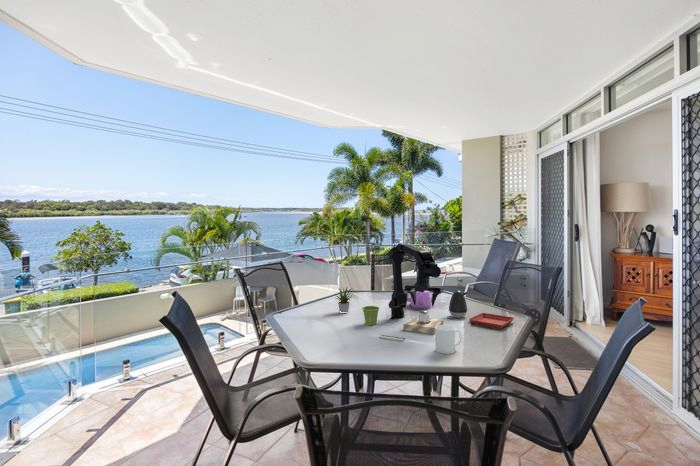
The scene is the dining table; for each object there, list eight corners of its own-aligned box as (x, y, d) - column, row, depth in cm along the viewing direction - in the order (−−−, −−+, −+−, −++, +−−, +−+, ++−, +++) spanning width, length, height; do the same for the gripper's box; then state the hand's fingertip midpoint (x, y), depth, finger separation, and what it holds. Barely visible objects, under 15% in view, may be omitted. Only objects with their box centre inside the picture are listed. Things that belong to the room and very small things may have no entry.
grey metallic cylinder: (417, 328, 191) (417, 311, 191) (420, 325, 195) (420, 309, 195) (427, 329, 188) (426, 312, 188) (430, 327, 193) (429, 310, 192)
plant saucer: (468, 324, 200) (468, 318, 200) (482, 317, 213) (482, 312, 213) (502, 331, 188) (502, 325, 188) (515, 323, 201) (515, 317, 201)
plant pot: (383, 323, 204) (382, 307, 204) (372, 327, 198) (371, 311, 197) (369, 320, 211) (369, 305, 211) (358, 324, 204) (358, 308, 204)
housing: (403, 331, 189) (403, 323, 189) (414, 323, 203) (414, 316, 203) (434, 336, 181) (434, 328, 181) (443, 327, 195) (443, 319, 195)
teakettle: (419, 301, 254) (419, 283, 254) (439, 306, 241) (439, 287, 241) (401, 305, 244) (401, 287, 243) (422, 310, 231) (421, 290, 230)
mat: (379, 337, 180) (379, 336, 180) (389, 331, 190) (388, 329, 190) (402, 341, 174) (402, 340, 174) (411, 334, 185) (411, 333, 185)
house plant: (362, 311, 231) (361, 285, 230) (350, 316, 219) (349, 288, 219) (342, 308, 239) (342, 283, 238) (330, 313, 227) (329, 286, 226)
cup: (431, 348, 164) (431, 325, 164) (456, 345, 167) (456, 323, 167) (441, 355, 156) (441, 331, 156) (466, 352, 159) (466, 328, 159)
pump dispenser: (468, 319, 209) (468, 292, 208) (449, 318, 211) (449, 292, 210) (466, 314, 219) (466, 289, 218) (448, 314, 221) (448, 288, 220)
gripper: (400, 276, 188) (400, 307, 189) (437, 278, 179) (437, 311, 180) (408, 273, 198) (408, 302, 199) (443, 275, 189) (443, 306, 190)
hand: (423, 305), depth 192 cm, fingers open, 9 cm apart
